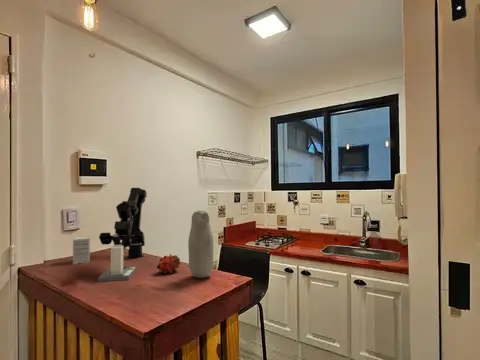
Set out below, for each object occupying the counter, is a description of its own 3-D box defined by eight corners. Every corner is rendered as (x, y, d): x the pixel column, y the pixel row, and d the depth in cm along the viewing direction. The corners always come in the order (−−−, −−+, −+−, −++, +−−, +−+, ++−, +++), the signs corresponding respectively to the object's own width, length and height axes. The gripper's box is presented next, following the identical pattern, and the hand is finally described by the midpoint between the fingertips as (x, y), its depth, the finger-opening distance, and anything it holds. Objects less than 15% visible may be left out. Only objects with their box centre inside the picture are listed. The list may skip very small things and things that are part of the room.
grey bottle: (217, 275, 117) (217, 210, 118) (202, 282, 108) (202, 211, 109) (199, 272, 122) (199, 209, 123) (183, 278, 113) (183, 211, 114)
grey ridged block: (74, 261, 144) (74, 237, 144) (90, 259, 147) (90, 236, 148) (72, 264, 137) (72, 239, 138) (88, 262, 140) (89, 238, 141)
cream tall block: (113, 271, 118) (113, 244, 119) (123, 271, 119) (123, 244, 119) (110, 274, 114) (110, 246, 115) (120, 274, 115) (120, 245, 115)
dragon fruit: (182, 272, 126) (159, 283, 118) (173, 260, 131) (149, 268, 122) (186, 260, 123) (163, 270, 114) (176, 247, 127) (153, 255, 118)
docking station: (108, 271, 124) (108, 266, 124) (136, 270, 126) (136, 265, 126) (97, 281, 110) (97, 275, 111) (128, 279, 112) (128, 274, 112)
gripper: (100, 215, 124) (91, 243, 112) (143, 214, 127) (138, 242, 115) (106, 230, 131) (97, 258, 120) (146, 228, 134) (141, 256, 123)
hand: (118, 253), depth 119 cm, fingers closed, pressing on cream tall block
